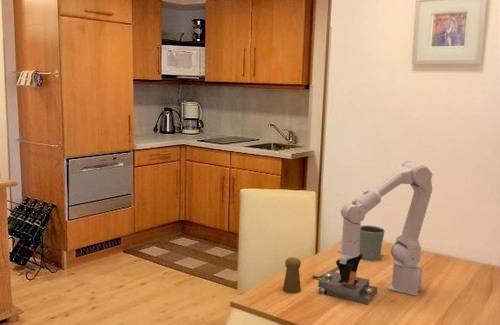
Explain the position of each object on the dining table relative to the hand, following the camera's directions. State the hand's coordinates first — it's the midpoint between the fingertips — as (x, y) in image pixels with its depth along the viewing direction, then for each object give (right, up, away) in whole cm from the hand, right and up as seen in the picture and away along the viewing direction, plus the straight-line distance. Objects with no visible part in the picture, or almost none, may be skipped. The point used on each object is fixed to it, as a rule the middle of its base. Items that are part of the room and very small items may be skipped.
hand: (348, 278), depth 169 cm
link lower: (+1, -5, 0) cm, 5 cm away
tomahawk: (-2, -3, +19) cm, 19 cm away
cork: (-19, -5, +2) cm, 20 cm away
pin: (0, -5, +1) cm, 5 cm away
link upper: (-1, -5, +2) cm, 5 cm away
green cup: (+16, 0, +36) cm, 40 cm away
